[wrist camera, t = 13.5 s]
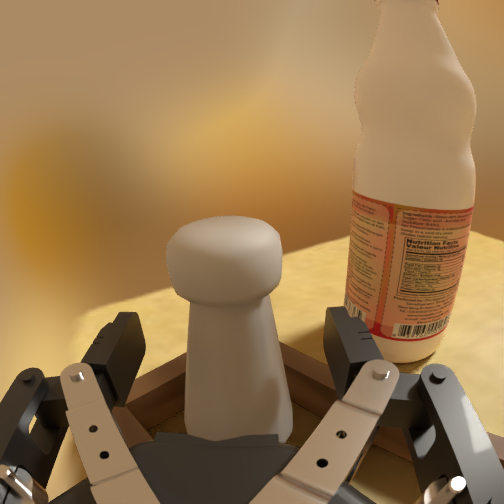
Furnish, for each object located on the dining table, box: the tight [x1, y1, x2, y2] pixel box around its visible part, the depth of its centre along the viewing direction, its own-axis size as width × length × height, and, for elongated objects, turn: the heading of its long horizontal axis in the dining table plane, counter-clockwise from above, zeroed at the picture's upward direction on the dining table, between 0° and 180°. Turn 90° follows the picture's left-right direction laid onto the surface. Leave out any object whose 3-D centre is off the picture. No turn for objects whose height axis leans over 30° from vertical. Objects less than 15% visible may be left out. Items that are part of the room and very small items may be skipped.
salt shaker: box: [166, 216, 293, 443], centre depth 14 cm, size 6×6×13 cm
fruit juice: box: [344, 0, 477, 363], centre depth 20 cm, size 9×9×28 cm
